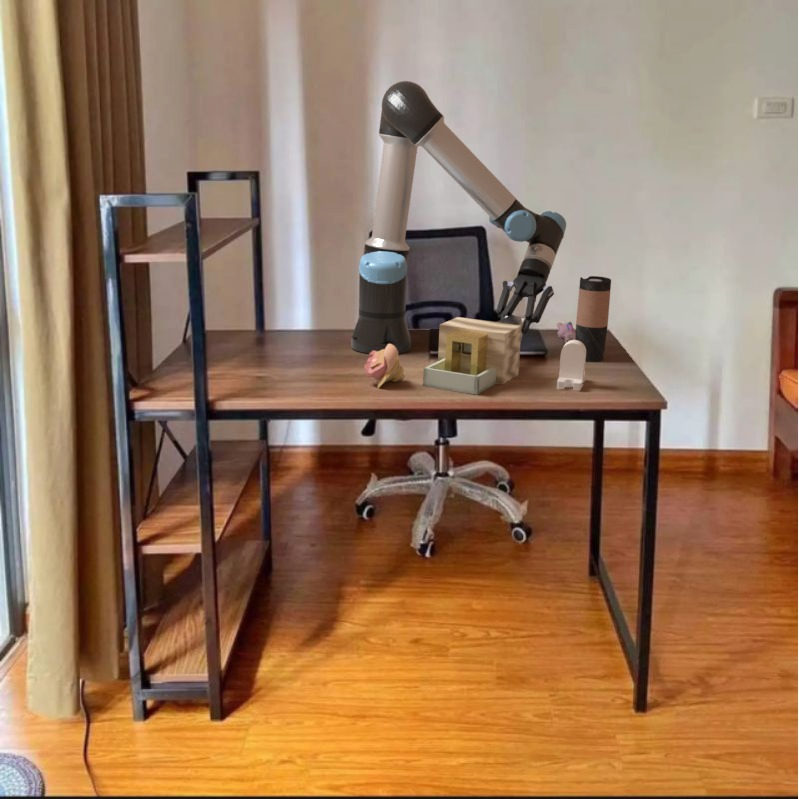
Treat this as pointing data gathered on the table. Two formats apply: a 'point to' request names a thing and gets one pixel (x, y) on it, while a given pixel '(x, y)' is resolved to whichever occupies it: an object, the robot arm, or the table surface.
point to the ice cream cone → (384, 365)
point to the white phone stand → (572, 365)
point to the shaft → (508, 320)
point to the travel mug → (593, 316)
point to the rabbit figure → (566, 331)
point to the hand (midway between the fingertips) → (507, 341)
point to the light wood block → (499, 345)
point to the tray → (458, 379)
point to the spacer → (455, 351)
